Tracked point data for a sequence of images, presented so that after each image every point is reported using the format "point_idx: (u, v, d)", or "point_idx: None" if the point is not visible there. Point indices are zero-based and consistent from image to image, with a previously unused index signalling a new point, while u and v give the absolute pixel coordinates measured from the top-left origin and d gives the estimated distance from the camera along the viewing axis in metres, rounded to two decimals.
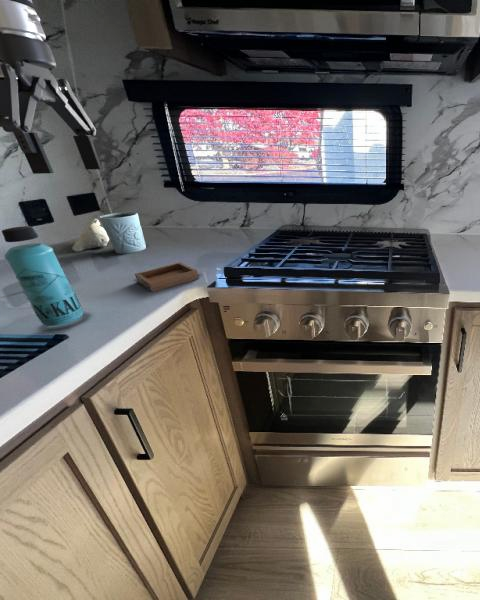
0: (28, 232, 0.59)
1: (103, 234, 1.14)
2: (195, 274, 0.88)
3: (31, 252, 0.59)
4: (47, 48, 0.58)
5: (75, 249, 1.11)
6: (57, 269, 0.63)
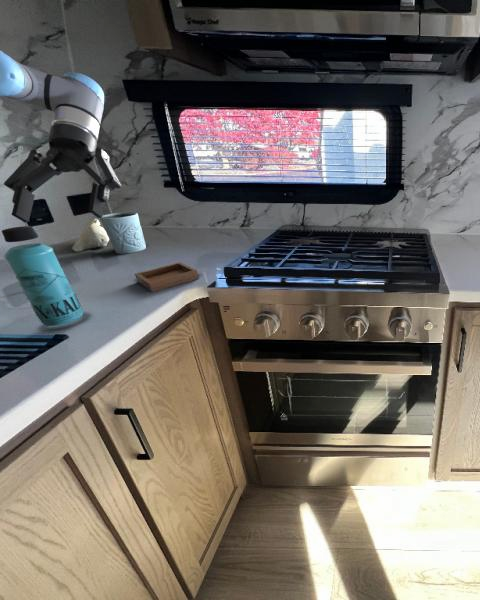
0: (28, 232, 0.59)
1: (103, 234, 1.14)
2: (195, 274, 0.88)
3: (31, 252, 0.59)
4: None
5: (75, 249, 1.11)
6: (57, 269, 0.63)
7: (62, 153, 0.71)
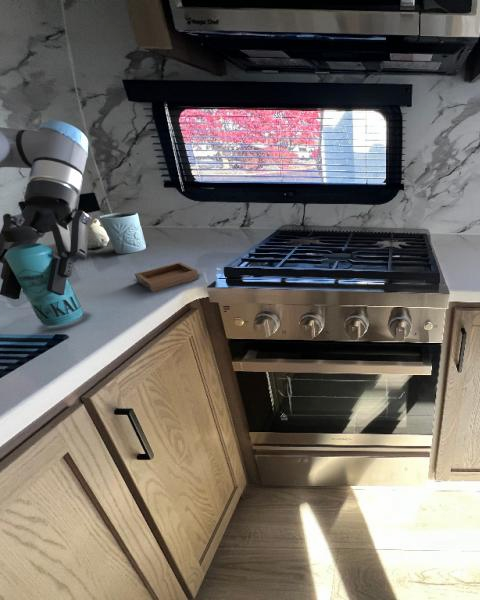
0: (27, 232, 0.59)
1: (103, 234, 1.14)
2: (195, 274, 0.88)
3: (30, 252, 0.59)
4: None
5: None
6: None
7: (39, 211, 0.65)
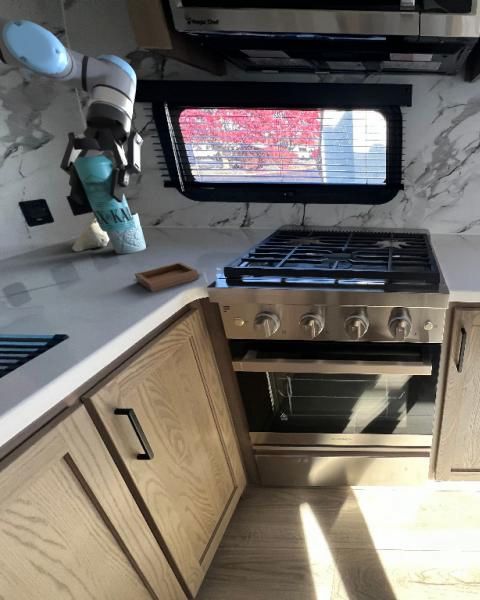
0: (93, 142, 0.67)
1: (103, 234, 1.14)
2: (195, 274, 0.88)
3: (96, 160, 0.67)
4: None
5: (75, 249, 1.11)
6: None
7: (99, 131, 0.73)
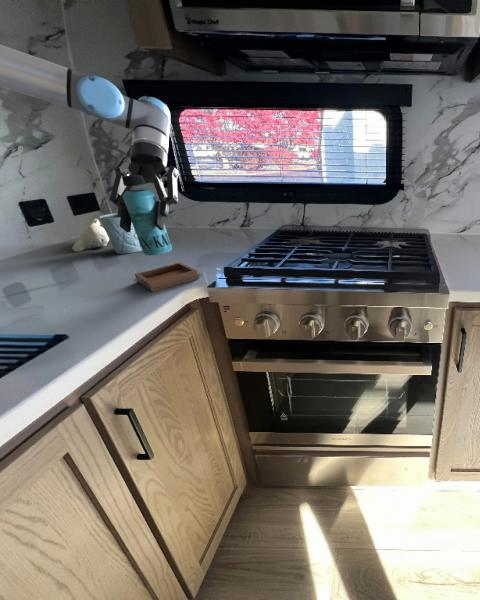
0: (140, 179, 0.77)
1: (103, 234, 1.14)
2: (195, 274, 0.88)
3: (142, 194, 0.77)
4: None
5: (75, 249, 1.11)
6: None
7: (141, 166, 0.83)
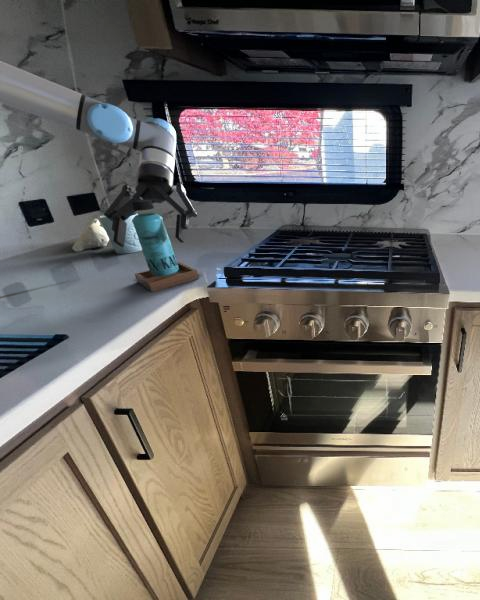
0: (149, 203, 0.80)
1: (103, 234, 1.14)
2: (195, 274, 0.88)
3: (151, 218, 0.80)
4: None
5: (75, 249, 1.11)
6: (165, 232, 0.84)
7: (149, 188, 0.85)
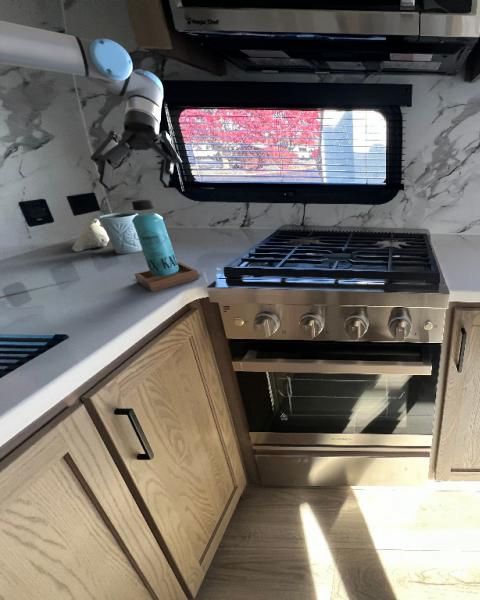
0: (149, 203, 0.80)
1: (103, 234, 1.14)
2: (195, 274, 0.88)
3: (151, 218, 0.80)
4: None
5: (75, 249, 1.11)
6: (165, 232, 0.84)
7: (135, 134, 0.88)
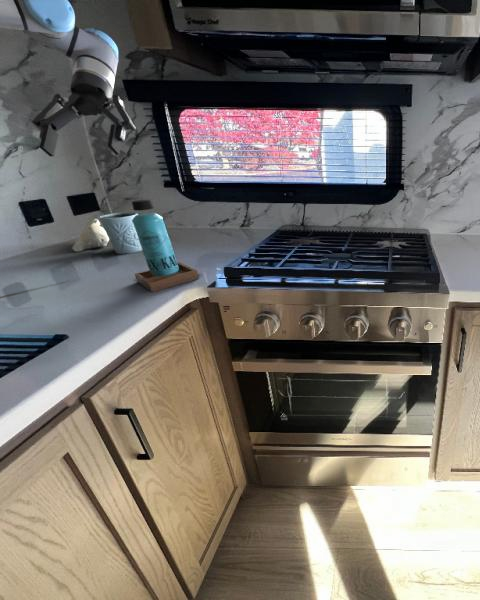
0: (149, 203, 0.80)
1: (103, 234, 1.14)
2: (195, 274, 0.88)
3: (151, 218, 0.80)
4: None
5: (75, 249, 1.11)
6: (165, 232, 0.84)
7: (83, 98, 0.80)
